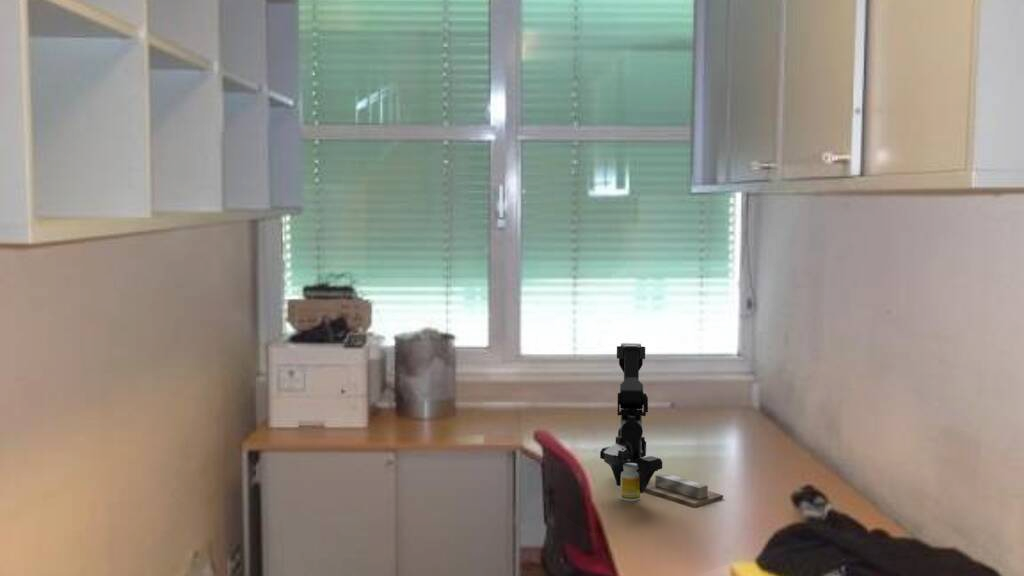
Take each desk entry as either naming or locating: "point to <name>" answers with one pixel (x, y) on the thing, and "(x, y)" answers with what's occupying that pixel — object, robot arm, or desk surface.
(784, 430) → the desk surface
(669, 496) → the ridge board
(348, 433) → the desk surface
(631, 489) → the supplement bottle
